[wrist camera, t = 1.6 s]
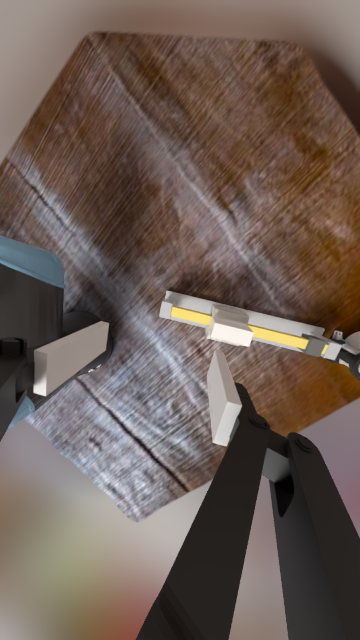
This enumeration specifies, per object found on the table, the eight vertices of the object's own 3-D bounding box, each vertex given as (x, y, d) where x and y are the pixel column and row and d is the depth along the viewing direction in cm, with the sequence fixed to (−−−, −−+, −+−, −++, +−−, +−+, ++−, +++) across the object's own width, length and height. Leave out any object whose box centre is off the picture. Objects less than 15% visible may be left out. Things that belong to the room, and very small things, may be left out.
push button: (321, 329, 36) (364, 348, 27) (349, 329, 36) (404, 348, 26) (316, 358, 38) (356, 385, 28) (343, 359, 37) (393, 387, 28)
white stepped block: (205, 329, 36) (207, 346, 27) (212, 303, 35) (217, 312, 25) (233, 336, 36) (245, 356, 27) (241, 310, 34) (257, 322, 25)
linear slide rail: (162, 316, 39) (155, 323, 33) (167, 290, 38) (161, 292, 31) (310, 353, 38) (333, 368, 31) (322, 327, 36) (349, 338, 30)
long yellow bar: (166, 315, 35) (163, 318, 32) (169, 300, 34) (167, 302, 31) (324, 354, 33) (336, 361, 31) (331, 340, 33) (344, 346, 30)
